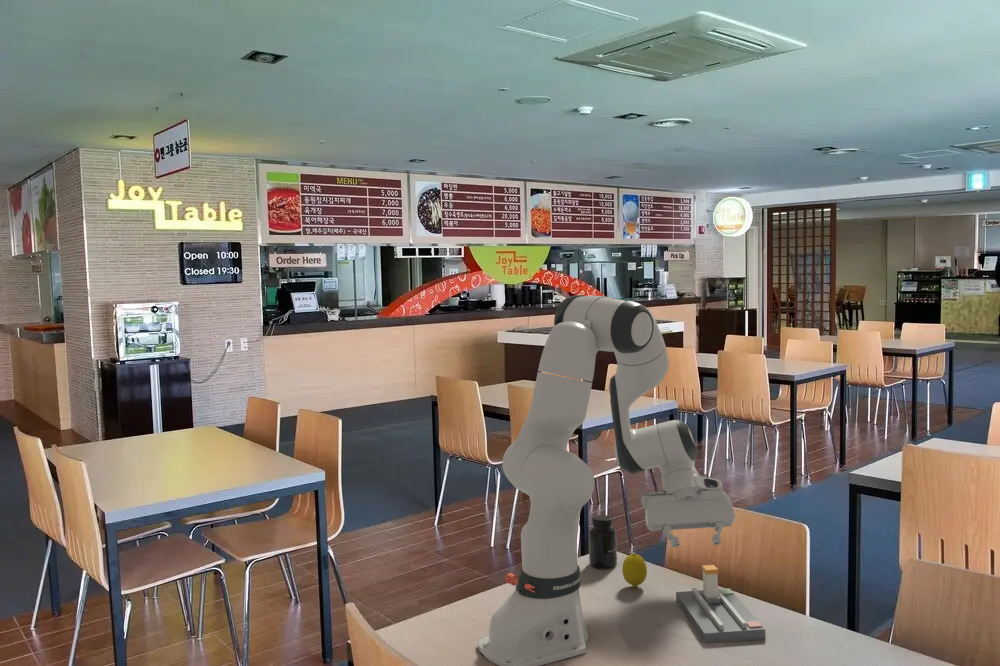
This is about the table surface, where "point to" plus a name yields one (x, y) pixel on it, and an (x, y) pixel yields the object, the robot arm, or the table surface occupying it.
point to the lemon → (634, 569)
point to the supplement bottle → (602, 543)
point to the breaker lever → (710, 584)
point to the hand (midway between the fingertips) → (696, 544)
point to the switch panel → (720, 617)
